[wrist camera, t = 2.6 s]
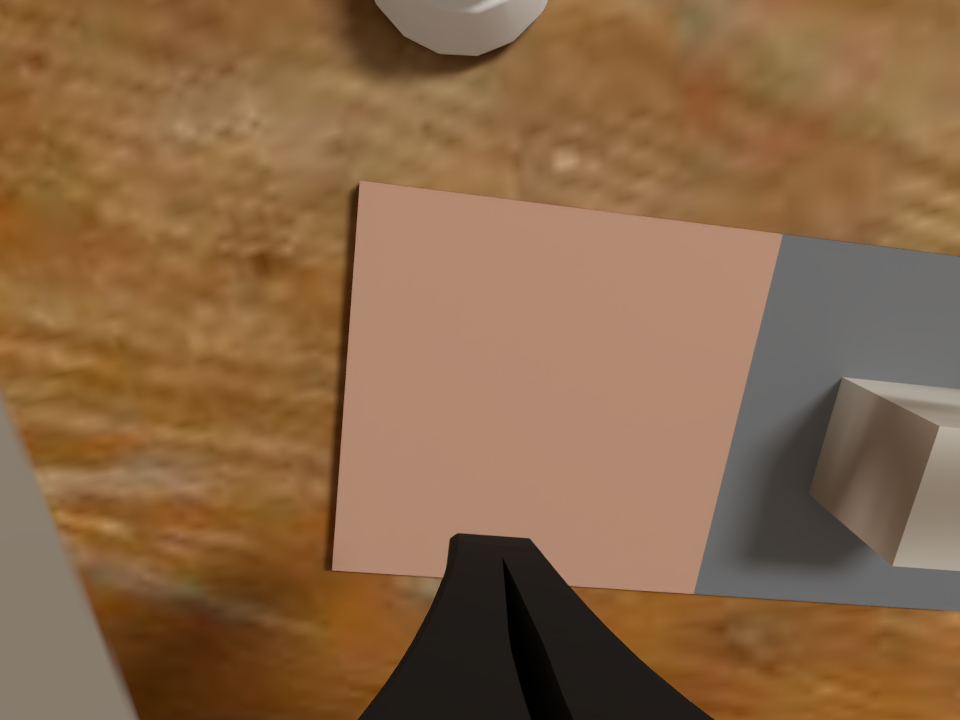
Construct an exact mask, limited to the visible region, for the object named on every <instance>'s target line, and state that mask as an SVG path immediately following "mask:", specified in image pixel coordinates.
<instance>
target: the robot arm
mask: <svg viewBox="0 0 960 720" xmlns="http://www.w3.org/2000/svg"><path fill="white" fill-rule="evenodd" d="M358 720H714V719H713V718H711V717H710V716H709V715H707V714H706V713H705V712H703V711H702V710H701V709H699V708H698V707H697V706H695V705H694V704H693V703H692V702H690V701H689V700H688V699H686V698H685V697H684V696H683V695H682V694H680V693H679V692H678V691H677V690H676V689H674V688H673V687H672V686H671V685H670V684H668V683H667V682H666V681H665V680H663V679H662V678H661V677H660V676H659V675H657V674H656V673H655V672H654V671H653V670H651V669H650V668H649V667H648V666H647V665H646V664H645V663H644V662H643V661H641V660H640V659H639V658H638V657H637V656H636V655H635V654H634V653H633V652H632V651H631V650H630V649H629V648H628V647H627V646H626V645H625V644H624V643H623V642H622V641H621V640H619V639H618V638H617V637H616V636H615V635H614V634H613V633H612V632H611V631H610V630H609V629H608V628H607V627H606V626H605V625H604V624H603V623H602V621H601V620H600V619H599V618H598V617H597V616H596V615H595V614H594V613H593V612H592V611H591V610H590V609H589V608H588V607H587V605H586V604H585V603H584V602H583V601H582V600H581V599H580V598H579V597H578V595H577V594H576V593H575V592H574V591H573V590H572V589H571V587H570V586H569V585H568V584H567V583H566V582H565V580H564V579H563V578H562V577H561V576H560V574H559V573H558V572H557V571H556V570H555V568H554V567H553V566H552V565H551V563H550V562H549V561H548V560H547V559H546V557H545V556H544V555H543V554H542V552H541V551H540V550H539V549H538V548H537V546H536V545H535V544H534V543H533V542H532V540H531V539H530V538H520V537H506V536H492V535H478V534H464V533H457V534H455V535H454V536H453V537H451V538H450V541H449V549H448V557H447V565H446V570H445V573H444V576H443V579H442V581H441V584H440V586H439V589H438V591H437V593H436V596H435V598H434V601H433V603H432V605H431V607H430V610H429V612H428V613H427V615H426V617H425V619H424V621H423V623H422V625H421V627H420V629H419V630H418V632H417V634H416V636H415V638H414V640H413V642H412V643H411V645H410V647H409V648H408V650H407V652H406V653H405V655H404V656H403V658H402V660H401V661H400V663H399V664H398V666H397V667H396V669H395V670H394V672H393V673H392V675H391V676H390V678H389V679H388V681H387V682H386V683H385V685H384V686H383V688H382V689H381V690H380V691H379V693H378V694H377V695H376V697H375V698H374V699H373V701H372V702H371V703H370V705H369V706H368V707H367V708H366V710H365V711H364V712H363V714H362V715H361V716H360V717H359V719H358Z"/></svg>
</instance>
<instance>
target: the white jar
mask: <svg viewBox="0 0 960 720" xmlns="http://www.w3.org/2000/svg"><path fill="white" fill-rule="evenodd" d="M547 1H548V0H375V3H376V5H377V6H378V7H379V8H380V9H381V11H382V12H383V13H384V14H385V15H386V16H387V17H388V19H389V20H390V21H391V22H392V23H393V24H394V25H395V27H396V28H397V29H398V30H399V31H400V32H401V34H402V35H403V36H405V37H407V38H409V39H410V40H412V41H414V42H416V43H418V44H420V45H422V46H424V47H426V48H428V49H430V50H432V51H434V52H436V53H438V54H448V55H468V56H479V55H481V54H484V53H486V52H489V51H491V50H494V49H496V48H499V47H501V46H504V45H506V44H509V43H511V42H513V41H514V40H515V39H516V38H517V37H518V36H519V35H520V34H521V33H522V32H523V31H524V30H525V29H526V28H527V27H528V26H529V25H530V24H531V23H532V22H533V21H534V20H535V19H536V18H537V17H538V16H539V15H540V14H541V13H542V12H543V10H544V8H545V6H546V4H547Z"/></svg>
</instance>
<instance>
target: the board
mask: <svg viewBox="0 0 960 720" xmlns="http://www.w3.org/2000/svg"><path fill="white" fill-rule="evenodd" d="M842 377H846V378H856V379H866V380H875V381H885V382H894V383H904V384H914V385H923V386H933V387H943V388H952V389H960V256H953V255H945V254H937V253H929V252H921V251H914V250H906V249H898V248H890V247H882V246H874V245H866V244H858V243H850V242H842V241H835V240H827V239H819V238H811V237H803V236H795V235H787V234H779V233H771V232H763V231H756V230H748V229H740V228H732V227H724V226H716V225H708V224H700V223H692V222H684V221H677V220H669V219H661V218H653V217H645V216H637V215H629V214H621V213H613V212H605V211H598V210H590V209H582V208H574V207H566V206H558V205H550V204H542V203H534V202H526V201H519V200H511V199H503V198H495V197H487V196H479V195H471V194H463V193H455V192H447V191H440V190H432V189H424V188H416V187H408V186H400V185H392V184H384V183H376V182H368V181H360V186H359V200H358V214H357V228H356V241H355V255H354V269H353V283H352V297H351V311H350V325H349V339H348V353H347V367H346V381H345V395H344V409H343V423H342V437H341V451H340V465H339V479H338V493H337V507H336V521H335V535H334V549H333V563H332V570H334V571H349V572H365V573H380V574H395V575H411V576H426V577H441V578H443V576H444V573H445V570H446V565H447V557H448V549H449V541H450V538H451V537H453V536H454V535H455V534H457V533H464V534H478V535H492V536H506V537H520V538H530V539H531V540H532V542H533V543H534V544H535V545H536V546H537V548H538V549H539V550H540V551H541V552H542V554H543V555H544V556H545V557H546V559H547V560H548V561H549V562H550V563H551V565H552V566H553V567H554V568H555V570H556V571H557V572H558V573H559V574H560V576H561V577H562V578H563V579H564V580H565V582H566V583H567V584H568V585H569V586H579V587H594V588H610V589H625V590H640V591H656V592H671V593H686V594H702V595H717V596H732V597H748V598H763V599H778V600H794V601H809V602H824V603H839V604H855V605H870V606H885V607H901V608H916V609H931V610H947V611H960V571H952V570H938V569H924V568H911V567H897V566H891V565H890V564H889V563H888V562H887V561H886V560H885V559H883V558H882V557H881V556H880V555H879V554H878V553H876V552H875V551H874V550H873V549H872V548H871V547H869V546H868V545H867V544H866V543H865V542H864V541H862V540H861V539H860V538H859V537H858V536H857V535H855V534H854V533H853V532H852V531H851V530H850V529H848V528H847V527H846V526H845V525H844V524H843V523H841V522H840V521H839V520H838V519H837V518H836V517H835V516H833V515H832V514H831V513H830V512H829V511H828V510H826V509H825V508H824V507H823V506H822V505H821V504H819V503H818V502H817V501H816V500H815V499H814V498H812V497H811V496H810V495H809V490H810V487H811V483H812V480H813V476H814V473H815V469H816V466H817V463H818V459H819V456H820V452H821V449H822V445H823V442H824V438H825V435H826V432H827V428H828V425H829V421H830V418H831V414H832V411H833V407H834V404H835V401H836V397H837V394H838V390H839V387H840V383H841V380H842Z"/></svg>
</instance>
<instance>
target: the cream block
mask: <svg viewBox="0 0 960 720" xmlns="http://www.w3.org/2000/svg"><path fill="white" fill-rule="evenodd" d="M809 495H810V496H811V497H812V498H814V499H815V500H816V501H817V502H818V503H819V504H821V505H822V506H823V507H824V508H825V509H826V510H828V511H829V512H830V513H831V514H832V515H833V516H835V517H836V518H837V519H838V520H839V521H840V522H841V523H843V524H844V525H845V526H846V527H847V528H848V529H850V530H851V531H852V532H853V533H854V534H855V535H857V536H858V537H859V538H860V539H861V540H862V541H864V542H865V543H866V544H867V545H868V546H869V547H871V548H872V549H873V550H874V551H875V552H876V553H878V554H879V555H880V556H881V557H882V558H883V559H885V560H886V561H887V562H888V563H889V564H890V565H891V566H897V567H911V568H924V569H938V570H952V571H960V389H952V388H943V387H933V386H923V385H914V384H904V383H894V382H885V381H875V380H866V379H856V378H846V377H842V380H841V383H840V387H839V390H838V394H837V397H836V401H835V404H834V407H833V411H832V414H831V418H830V421H829V425H828V428H827V432H826V435H825V438H824V442H823V445H822V449H821V452H820V456H819V459H818V463H817V466H816V469H815V473H814V476H813V480H812V483H811V487H810V490H809Z"/></svg>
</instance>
